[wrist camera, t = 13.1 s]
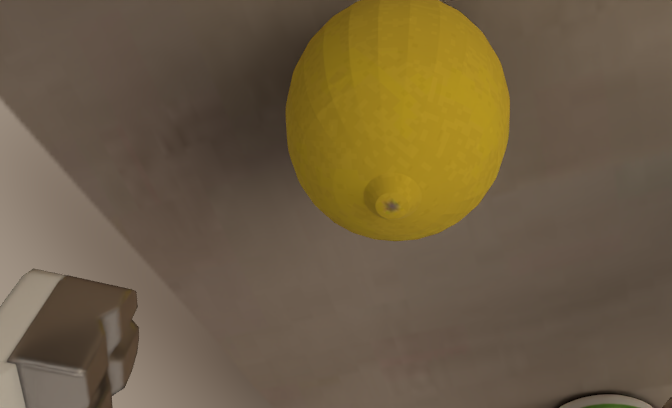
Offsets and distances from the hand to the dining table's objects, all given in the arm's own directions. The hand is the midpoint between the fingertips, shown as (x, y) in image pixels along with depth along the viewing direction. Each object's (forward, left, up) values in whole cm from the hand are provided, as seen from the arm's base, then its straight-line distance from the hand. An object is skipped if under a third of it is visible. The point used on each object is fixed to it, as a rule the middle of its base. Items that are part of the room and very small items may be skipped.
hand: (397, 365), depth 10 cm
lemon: (0, 0, -12) cm, 12 cm away
